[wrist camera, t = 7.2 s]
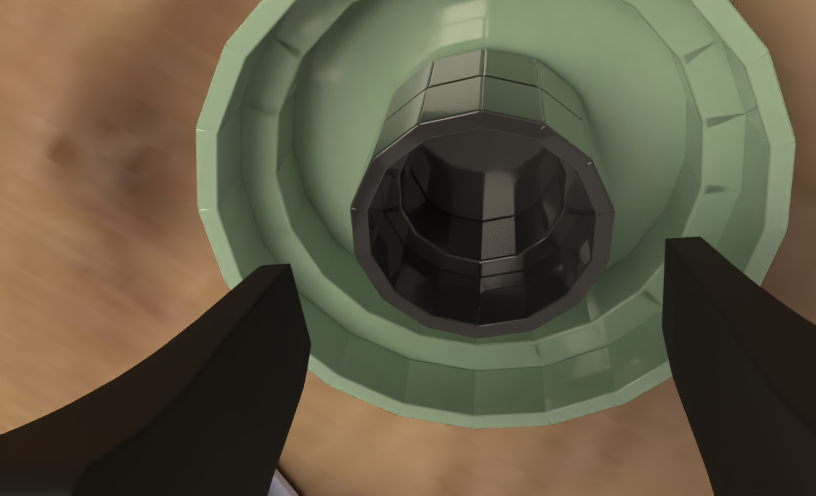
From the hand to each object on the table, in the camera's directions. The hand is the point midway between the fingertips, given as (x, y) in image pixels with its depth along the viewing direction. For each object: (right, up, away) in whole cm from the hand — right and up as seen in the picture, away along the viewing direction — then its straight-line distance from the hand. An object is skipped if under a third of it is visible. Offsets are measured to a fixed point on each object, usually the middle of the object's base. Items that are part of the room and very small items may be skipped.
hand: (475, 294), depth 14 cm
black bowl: (+1, +4, +5) cm, 6 cm away
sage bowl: (+1, +4, +6) cm, 7 cm away
